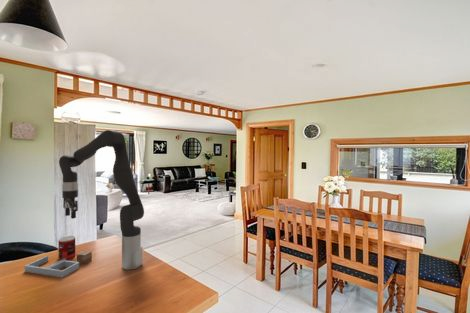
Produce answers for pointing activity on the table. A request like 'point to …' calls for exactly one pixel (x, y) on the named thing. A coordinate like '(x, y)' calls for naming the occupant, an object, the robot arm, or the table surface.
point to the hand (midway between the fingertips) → (70, 216)
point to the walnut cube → (84, 257)
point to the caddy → (52, 267)
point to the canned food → (66, 247)
